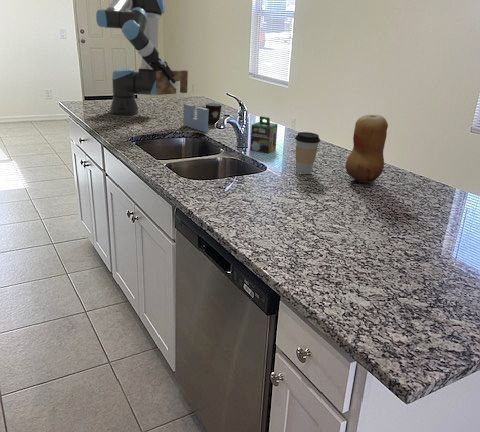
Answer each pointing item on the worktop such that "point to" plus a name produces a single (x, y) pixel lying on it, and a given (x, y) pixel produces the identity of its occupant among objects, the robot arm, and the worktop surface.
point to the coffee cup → (306, 151)
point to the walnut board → (166, 87)
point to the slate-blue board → (192, 122)
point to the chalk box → (263, 136)
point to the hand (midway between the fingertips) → (175, 86)
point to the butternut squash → (367, 148)
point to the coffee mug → (213, 112)
